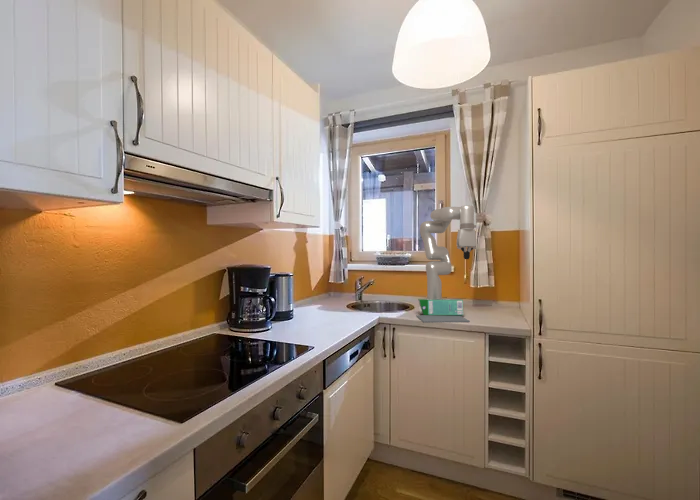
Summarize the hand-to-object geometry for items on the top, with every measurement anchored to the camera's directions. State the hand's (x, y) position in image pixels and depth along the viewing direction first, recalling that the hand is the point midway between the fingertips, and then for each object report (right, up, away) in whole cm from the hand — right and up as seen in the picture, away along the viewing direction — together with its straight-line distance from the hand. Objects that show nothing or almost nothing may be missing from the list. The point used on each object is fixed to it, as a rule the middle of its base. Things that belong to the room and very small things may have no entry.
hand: (466, 259), depth 185 cm
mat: (-15, -34, -4) cm, 37 cm away
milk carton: (-1, -29, +6) cm, 29 cm away
